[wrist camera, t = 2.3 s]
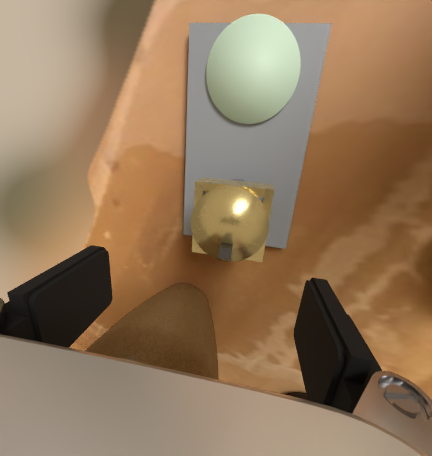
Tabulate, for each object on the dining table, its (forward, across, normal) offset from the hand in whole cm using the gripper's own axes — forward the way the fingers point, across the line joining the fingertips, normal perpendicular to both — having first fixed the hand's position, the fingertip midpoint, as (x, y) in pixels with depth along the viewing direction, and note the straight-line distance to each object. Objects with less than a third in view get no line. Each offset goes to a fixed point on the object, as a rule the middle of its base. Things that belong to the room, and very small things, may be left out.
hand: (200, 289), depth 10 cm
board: (+18, 0, -7) cm, 20 cm away
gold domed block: (+12, 0, 0) cm, 12 cm away
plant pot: (+19, +6, +16) cm, 26 cm away
